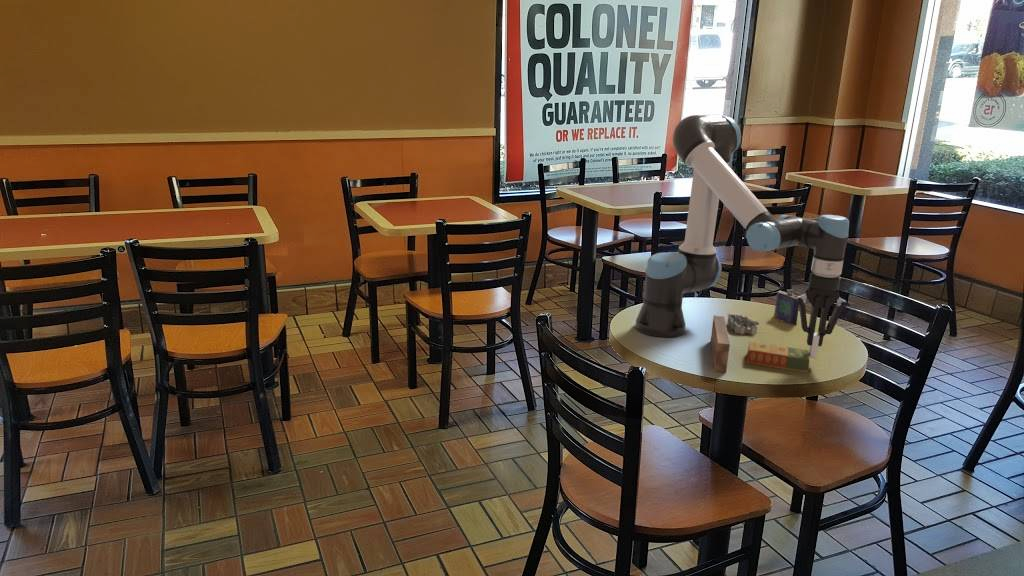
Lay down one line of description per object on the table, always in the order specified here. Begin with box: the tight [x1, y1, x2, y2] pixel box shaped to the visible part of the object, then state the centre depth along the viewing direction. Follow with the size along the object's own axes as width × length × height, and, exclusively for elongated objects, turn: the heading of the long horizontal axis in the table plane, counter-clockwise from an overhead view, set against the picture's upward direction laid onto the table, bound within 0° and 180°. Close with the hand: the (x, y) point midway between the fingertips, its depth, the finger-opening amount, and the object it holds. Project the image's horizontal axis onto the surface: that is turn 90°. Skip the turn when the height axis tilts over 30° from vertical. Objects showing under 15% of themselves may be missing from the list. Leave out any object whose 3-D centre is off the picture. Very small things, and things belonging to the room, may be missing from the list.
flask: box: [773, 289, 800, 326], centre depth 239 cm, size 9×3×11 cm, turn 24°
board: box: [710, 315, 731, 373], centre depth 207 cm, size 3×24×8 cm, turn 168°
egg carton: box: [726, 313, 760, 335], centre depth 231 cm, size 11×8×4 cm
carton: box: [745, 340, 810, 374], centre depth 204 cm, size 8×16×4 cm, turn 70°
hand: (812, 356), depth 202 cm, fingers closed
